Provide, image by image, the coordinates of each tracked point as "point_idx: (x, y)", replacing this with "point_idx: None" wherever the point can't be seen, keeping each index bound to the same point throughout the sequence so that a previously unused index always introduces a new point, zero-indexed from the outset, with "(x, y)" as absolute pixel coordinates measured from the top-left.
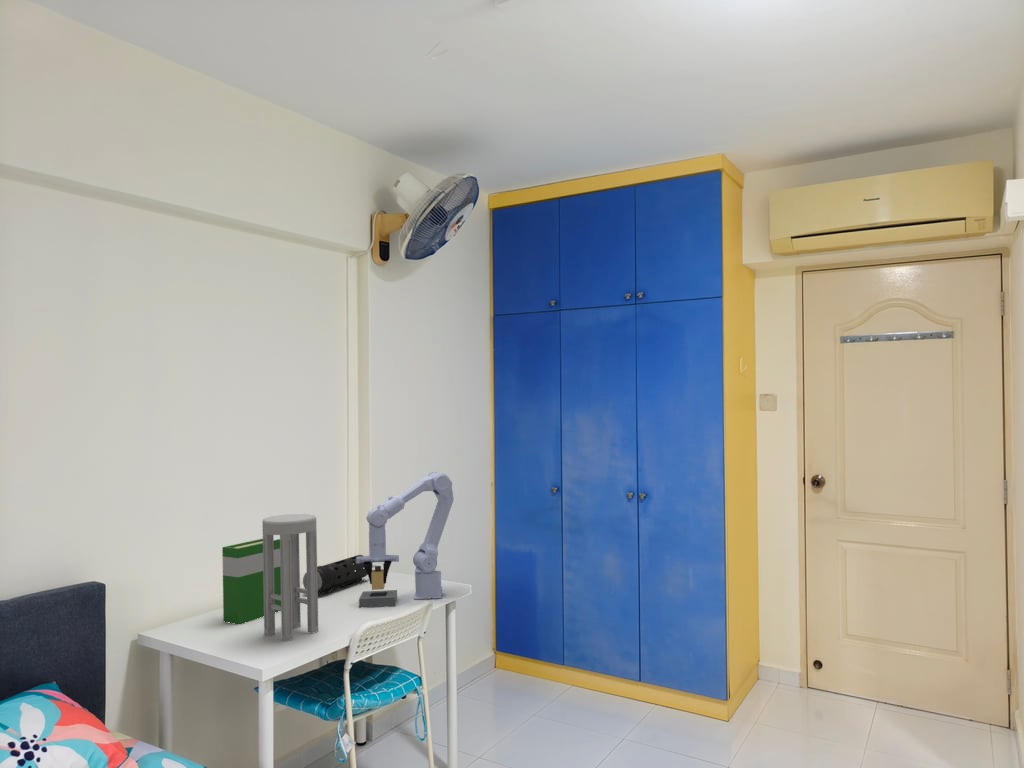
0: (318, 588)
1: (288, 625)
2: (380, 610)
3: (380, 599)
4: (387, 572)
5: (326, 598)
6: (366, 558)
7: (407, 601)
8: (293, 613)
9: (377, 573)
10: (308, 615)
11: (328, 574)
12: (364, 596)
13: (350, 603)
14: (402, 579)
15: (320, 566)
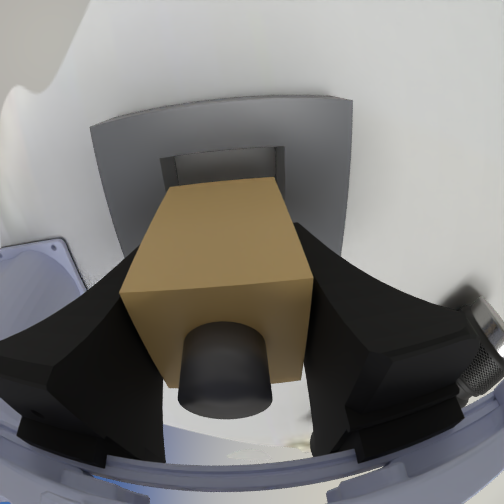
0: (483, 303)
1: None
2: (182, 28)
3: (190, 104)
4: (80, 297)
5: (449, 278)
6: (479, 483)
7: (81, 212)
8: None
9: (209, 271)
10: None
11: (468, 366)
12: (321, 160)
13: (382, 197)
14: (216, 424)
15: (488, 388)
